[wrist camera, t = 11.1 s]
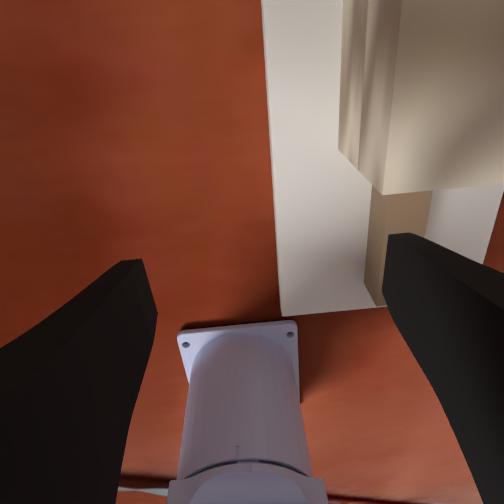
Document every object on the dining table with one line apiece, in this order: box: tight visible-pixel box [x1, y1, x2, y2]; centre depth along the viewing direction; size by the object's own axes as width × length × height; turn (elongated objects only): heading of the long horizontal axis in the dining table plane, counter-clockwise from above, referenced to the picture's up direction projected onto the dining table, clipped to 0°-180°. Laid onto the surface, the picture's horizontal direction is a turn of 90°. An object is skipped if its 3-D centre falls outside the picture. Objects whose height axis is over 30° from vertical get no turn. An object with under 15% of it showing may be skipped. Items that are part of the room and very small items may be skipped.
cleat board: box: [261, 0, 504, 317], centre depth 16 cm, size 20×12×5 cm, turn 5°
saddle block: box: [338, 0, 504, 195], centre depth 13 cm, size 8×6×6 cm
